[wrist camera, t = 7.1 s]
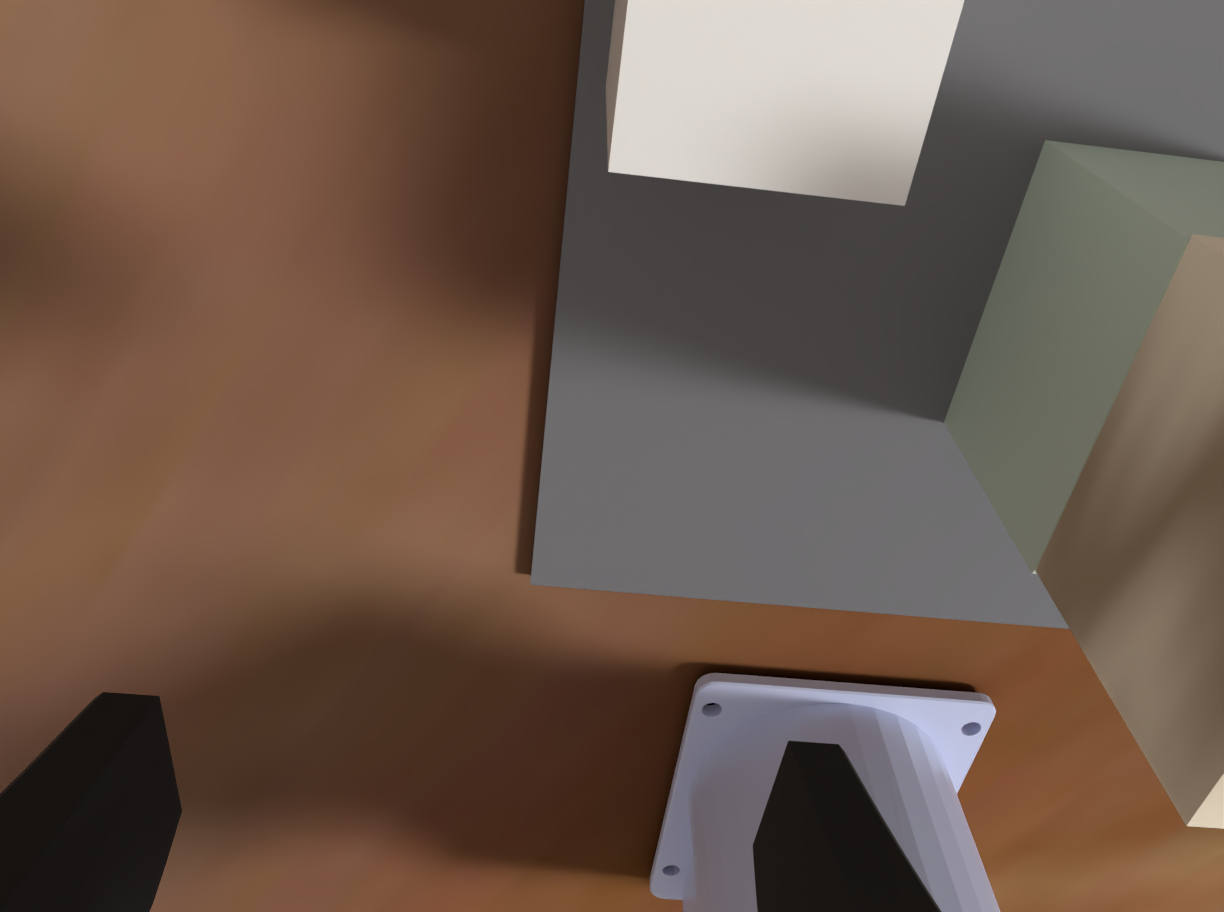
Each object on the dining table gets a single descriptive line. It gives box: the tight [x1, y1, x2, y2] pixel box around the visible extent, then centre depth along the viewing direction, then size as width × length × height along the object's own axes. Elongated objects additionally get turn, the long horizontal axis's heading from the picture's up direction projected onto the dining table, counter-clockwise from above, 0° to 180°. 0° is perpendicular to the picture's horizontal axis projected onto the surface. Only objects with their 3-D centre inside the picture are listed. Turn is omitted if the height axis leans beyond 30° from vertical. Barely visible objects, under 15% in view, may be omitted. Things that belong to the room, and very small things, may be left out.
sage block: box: [944, 140, 1224, 574], centre depth 17 cm, size 6×4×5 cm, turn 173°
